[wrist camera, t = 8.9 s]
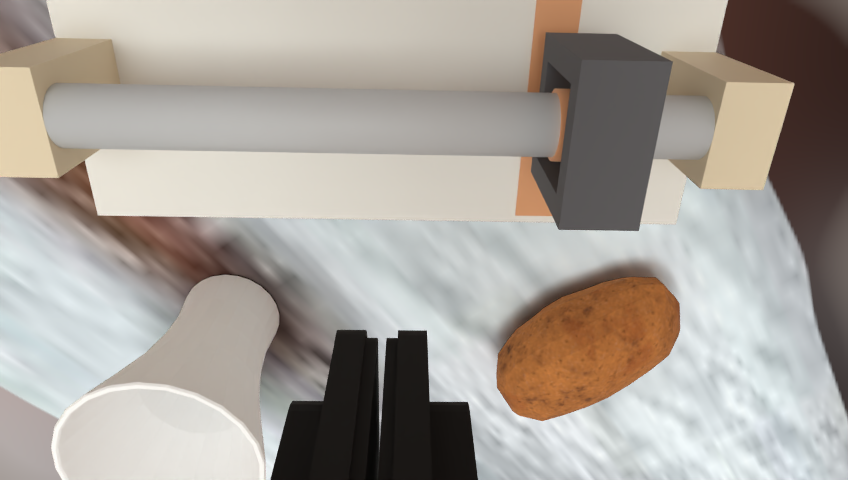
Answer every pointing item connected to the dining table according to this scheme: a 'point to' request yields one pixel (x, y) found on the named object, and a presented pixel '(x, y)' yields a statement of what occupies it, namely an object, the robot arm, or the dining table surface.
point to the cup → (180, 397)
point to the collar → (602, 129)
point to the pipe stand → (360, 106)
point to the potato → (587, 346)
